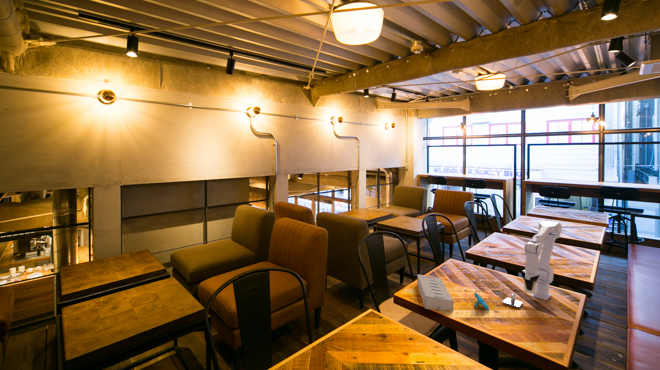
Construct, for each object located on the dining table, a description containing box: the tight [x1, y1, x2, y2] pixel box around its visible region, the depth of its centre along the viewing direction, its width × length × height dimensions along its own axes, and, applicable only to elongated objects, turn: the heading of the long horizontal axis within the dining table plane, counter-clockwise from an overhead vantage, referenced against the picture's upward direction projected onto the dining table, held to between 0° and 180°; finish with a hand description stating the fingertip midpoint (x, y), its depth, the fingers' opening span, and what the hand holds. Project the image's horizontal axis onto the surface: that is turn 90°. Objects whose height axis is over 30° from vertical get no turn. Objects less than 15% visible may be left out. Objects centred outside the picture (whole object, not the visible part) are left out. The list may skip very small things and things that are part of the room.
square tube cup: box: [523, 281, 538, 295], centre depth 162 cm, size 5×5×6 cm
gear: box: [473, 292, 490, 311], centre depth 161 cm, size 11×6×10 cm
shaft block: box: [502, 292, 524, 310], centre depth 164 cm, size 8×8×6 cm
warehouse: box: [416, 273, 454, 311], centre depth 173 cm, size 30×14×8 cm, turn 171°
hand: (530, 288), depth 163 cm, fingers closed on square tube cup, 5 cm apart
